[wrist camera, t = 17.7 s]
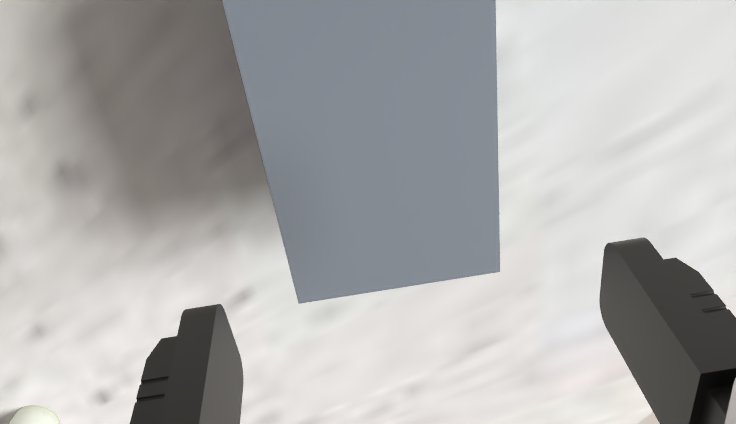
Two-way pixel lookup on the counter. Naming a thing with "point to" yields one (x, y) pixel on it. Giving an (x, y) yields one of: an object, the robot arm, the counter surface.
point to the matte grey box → (375, 137)
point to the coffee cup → (35, 416)
